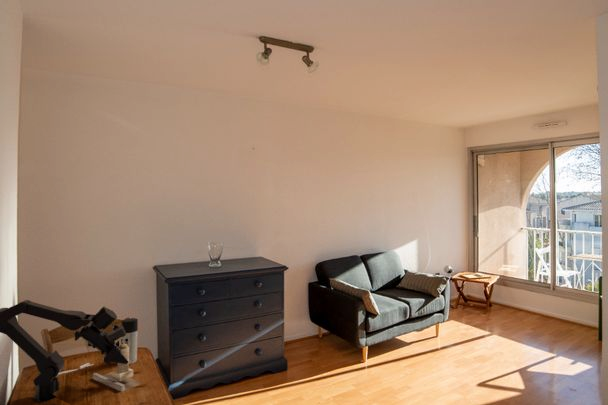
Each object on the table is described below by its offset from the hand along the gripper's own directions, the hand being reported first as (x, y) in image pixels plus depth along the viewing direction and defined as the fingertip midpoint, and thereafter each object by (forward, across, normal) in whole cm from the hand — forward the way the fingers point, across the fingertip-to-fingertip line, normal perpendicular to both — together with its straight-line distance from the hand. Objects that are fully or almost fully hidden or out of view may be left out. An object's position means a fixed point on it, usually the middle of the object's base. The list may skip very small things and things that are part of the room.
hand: (127, 361), depth 154 cm
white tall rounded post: (+3, 0, +5) cm, 6 cm away
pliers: (-6, +24, +20) cm, 32 cm away
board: (+5, +3, +9) cm, 10 cm away
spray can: (+9, +23, +5) cm, 25 cm away
